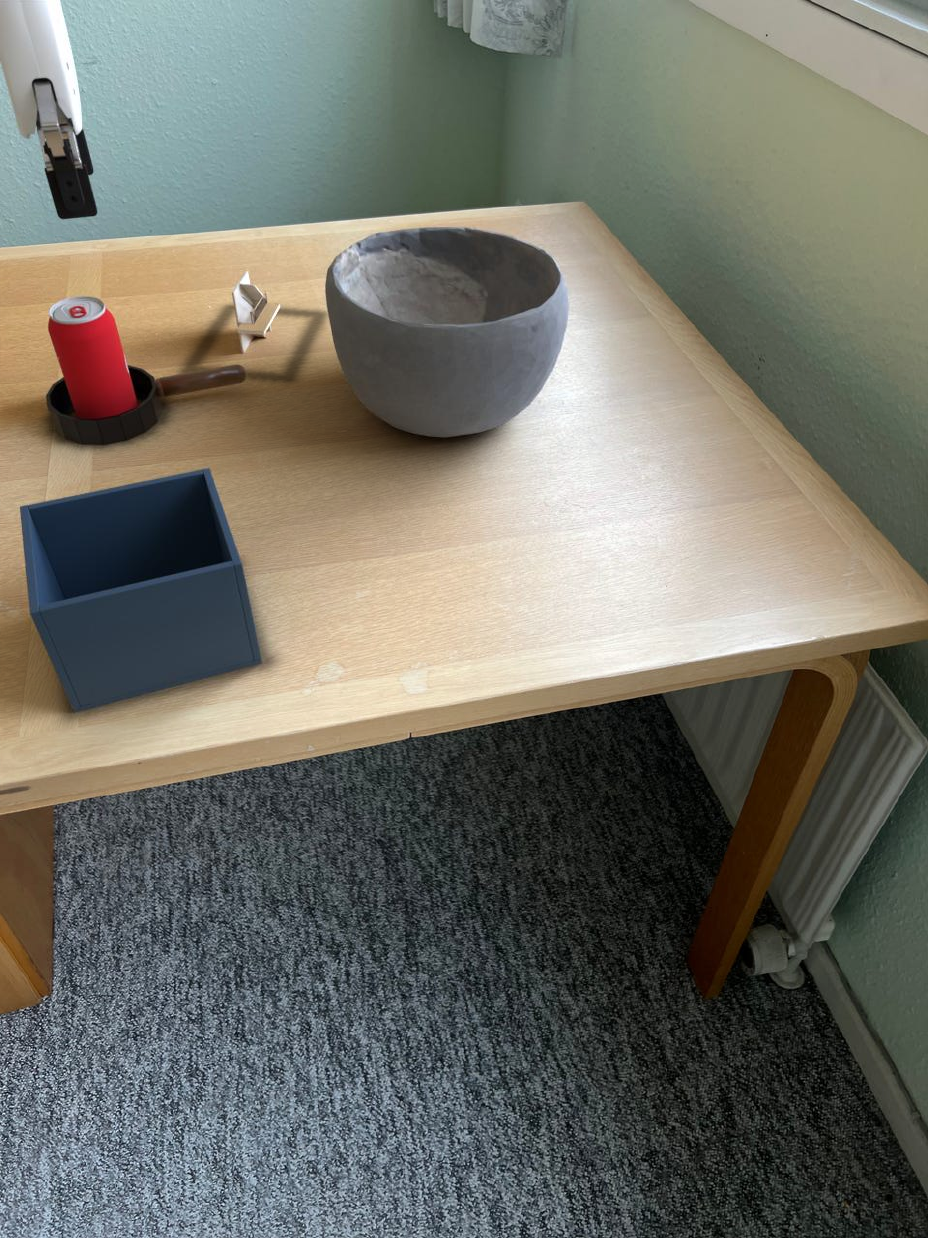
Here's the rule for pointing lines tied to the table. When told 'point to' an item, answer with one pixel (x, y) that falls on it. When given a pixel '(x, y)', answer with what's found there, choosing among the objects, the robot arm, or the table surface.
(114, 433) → the pan
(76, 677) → the bin
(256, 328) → the architectural model
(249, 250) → the table surface
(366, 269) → the bowl
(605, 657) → the table surface
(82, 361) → the beverage can
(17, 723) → the table surface
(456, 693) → the table surface
